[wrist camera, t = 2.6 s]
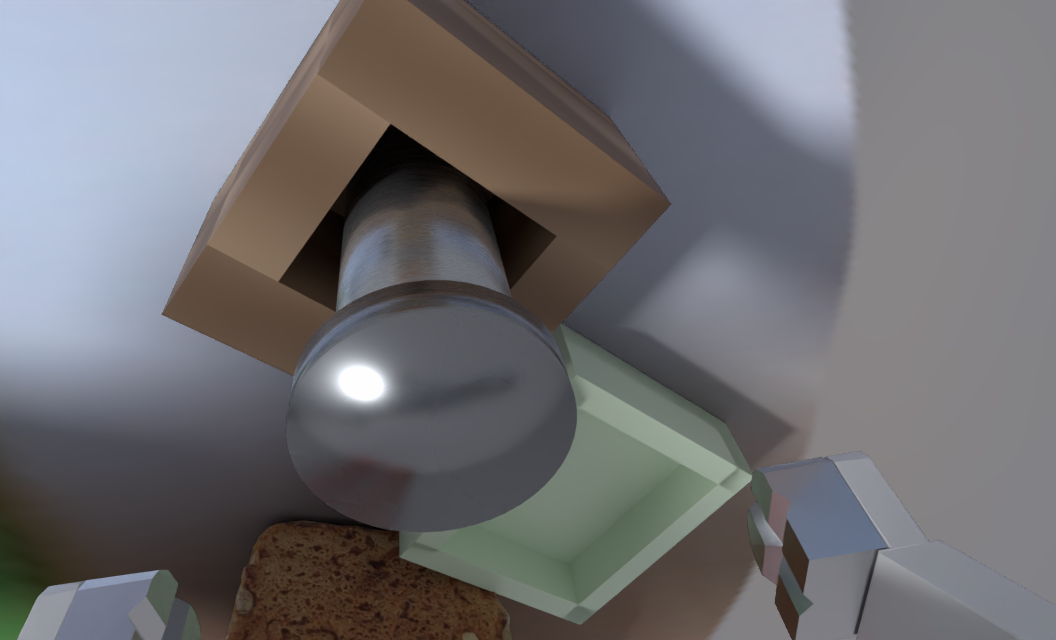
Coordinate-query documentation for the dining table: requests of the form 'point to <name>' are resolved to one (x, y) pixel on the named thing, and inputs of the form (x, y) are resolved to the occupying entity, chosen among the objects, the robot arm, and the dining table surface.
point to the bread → (354, 591)
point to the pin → (426, 360)
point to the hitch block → (442, 127)
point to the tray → (598, 494)
